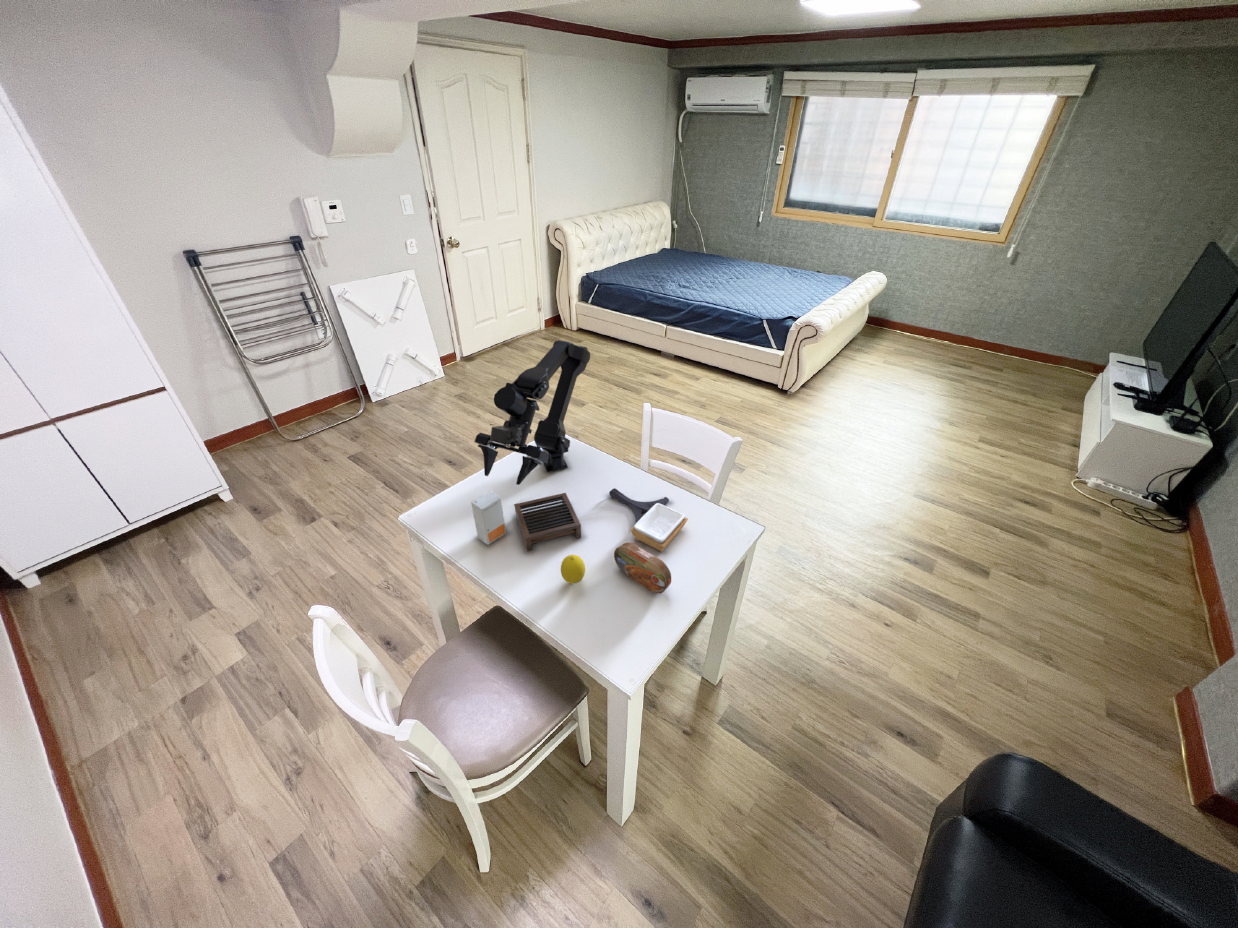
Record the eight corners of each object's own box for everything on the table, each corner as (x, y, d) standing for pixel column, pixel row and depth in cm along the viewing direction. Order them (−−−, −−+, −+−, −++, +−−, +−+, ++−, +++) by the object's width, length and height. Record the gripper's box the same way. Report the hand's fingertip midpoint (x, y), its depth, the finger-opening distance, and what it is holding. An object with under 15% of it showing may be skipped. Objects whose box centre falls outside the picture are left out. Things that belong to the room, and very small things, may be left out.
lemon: (573, 568, 116) (571, 544, 111) (590, 580, 113) (589, 555, 109) (556, 582, 113) (554, 558, 108) (574, 594, 110) (572, 570, 105)
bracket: (625, 482, 143) (625, 475, 141) (668, 502, 136) (669, 495, 134) (594, 509, 134) (594, 501, 132) (639, 531, 127) (640, 523, 125)
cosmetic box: (488, 546, 122) (480, 509, 115) (477, 538, 124) (469, 501, 117) (507, 533, 125) (501, 497, 118) (497, 525, 128) (490, 490, 121)
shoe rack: (515, 516, 130) (514, 504, 128) (566, 505, 135) (565, 492, 132) (527, 551, 120) (525, 538, 118) (581, 537, 125) (580, 524, 122)
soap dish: (655, 514, 132) (656, 499, 129) (687, 528, 128) (689, 514, 125) (629, 540, 124) (629, 525, 121) (662, 557, 119) (663, 542, 116)
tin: (613, 566, 117) (613, 541, 112) (621, 559, 119) (622, 534, 114) (663, 600, 109) (666, 574, 104) (672, 592, 111) (675, 566, 106)
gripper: (472, 404, 119) (452, 465, 118) (539, 420, 114) (519, 484, 112) (494, 417, 130) (476, 473, 128) (557, 432, 124) (539, 491, 123)
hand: (501, 480), depth 122 cm, fingers open, 9 cm apart
